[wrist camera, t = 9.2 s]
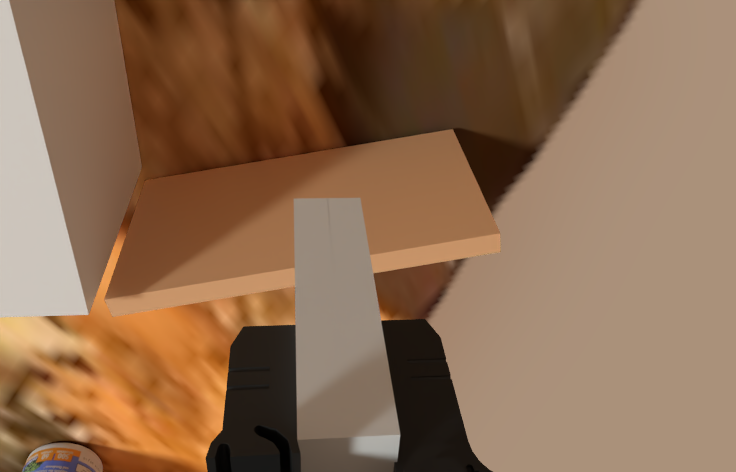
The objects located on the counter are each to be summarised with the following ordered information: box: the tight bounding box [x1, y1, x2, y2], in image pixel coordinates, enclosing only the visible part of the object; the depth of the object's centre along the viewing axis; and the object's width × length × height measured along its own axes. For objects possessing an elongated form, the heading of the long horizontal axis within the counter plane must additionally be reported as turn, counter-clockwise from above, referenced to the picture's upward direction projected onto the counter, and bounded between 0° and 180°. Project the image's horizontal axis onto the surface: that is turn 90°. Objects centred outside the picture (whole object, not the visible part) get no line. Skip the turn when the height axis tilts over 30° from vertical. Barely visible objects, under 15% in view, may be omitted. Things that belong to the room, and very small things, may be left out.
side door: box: [104, 129, 501, 317], centre depth 33 cm, size 17×2×10 cm, turn 98°
